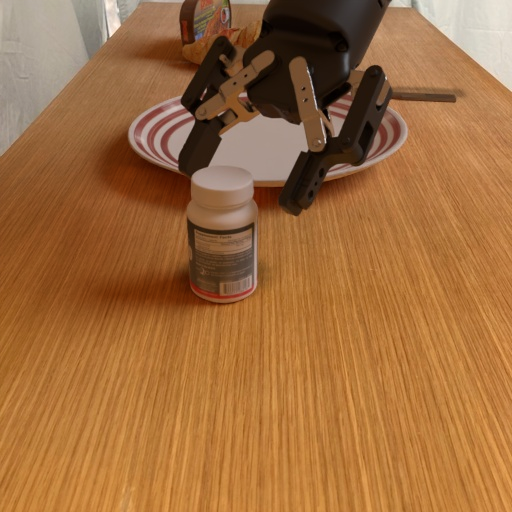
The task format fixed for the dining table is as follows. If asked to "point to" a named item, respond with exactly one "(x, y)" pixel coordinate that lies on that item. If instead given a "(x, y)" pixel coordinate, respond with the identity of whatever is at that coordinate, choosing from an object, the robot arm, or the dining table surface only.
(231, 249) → the pill bottle
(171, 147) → the dinner plate
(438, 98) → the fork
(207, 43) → the croissant
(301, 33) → the robot arm
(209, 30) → the tin
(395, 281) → the dining table surface
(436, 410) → the dining table surface
